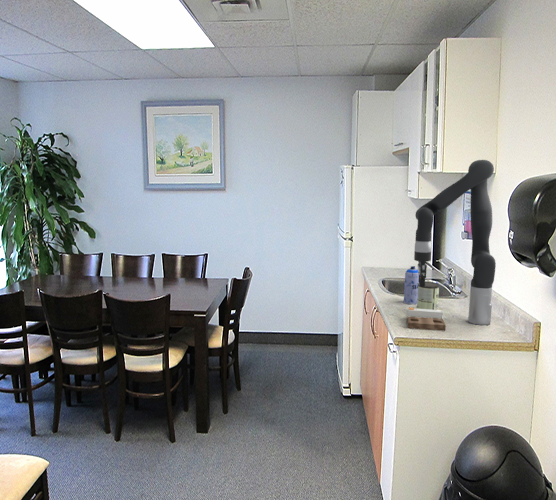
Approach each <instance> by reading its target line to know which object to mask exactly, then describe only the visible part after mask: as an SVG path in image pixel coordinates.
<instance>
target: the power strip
mask: <svg viewBox="0 0 556 500" xmlns="http://www.w3.org/2000/svg"><path fill="white" fill-rule="evenodd" d="M405 313H406V317H407V316H408V317H423V318H437V319H443V313H444V312H443V310H442V309H438V310H431V309H417V307H416V308H415V307H406V312H405Z"/></svg>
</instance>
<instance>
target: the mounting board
mask: <svg viewBox="0 0 556 500" xmlns="http://www.w3.org/2000/svg"><path fill="white" fill-rule="evenodd" d="M406 324H408V325H407V329H414V328H415V330H418V329H419V330H429V331H430V330H431V331H443V332H445V331H446V328H447V326H446V323H445V320H444V319H443V318H442V319H439V318H438V319H437V318H425V317H410V316H407V315H406Z"/></svg>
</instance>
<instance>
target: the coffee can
mask: <svg viewBox="0 0 556 500" xmlns="http://www.w3.org/2000/svg"><path fill="white" fill-rule="evenodd" d="M439 292H440V284H439V283H437V282H432V281H431V282H430V281H425V286H424V287H421V286H420V283H418V298H417V304H416V309H431V310H439V309H438V307H439Z"/></svg>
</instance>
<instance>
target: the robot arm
mask: <svg viewBox="0 0 556 500" xmlns="http://www.w3.org/2000/svg"><path fill="white" fill-rule="evenodd" d="M494 169H495V168H494V164H493V163H492V162H491V161H490V160H488V159H478V160H474V161H473V162H471V163H470V164H469V166H468V172H467V173H466V174H465V175H463V176H462V177H461V178H460V179H459V180H457V181H456V182H454V183H452V184H451V185H449V186H448V187H446V188H444V190H442V191H441V192H439V193H438V194H437V195H436V196H434V197H433V198H432V199H431V200H429V201H428V202H426V203H425V204H423V205H422V206H420V207H419V208H418V209H417V210H416V212H415V219H416V220H417V229H416V230H415V240H414V241H415V243H414V254H413V255H414V257H413V258H414V259H413V260H414V261H416V262H418V263H417V270H418V274H419V280H418V282H419V283H420V286H421V287H424V286H425V282H426V279H427V273H428V272H427V269H428V265H427V264H426V262H431V261H432V230H433V225H434V216H435V215H436V214H438V213H440V212H442V211H444V210H445V209H447V208H448V207H449V206H451V205H452V204H453V203H454V202H455V201H456V200H458V199H459V198H460V197H462V196H463V195H464V194H465V193H467V192H468V191H470V231H471V239H472V242H471V245H472V246H471V254H470V255H471V257H470V263H471V266H472V268H473V275H472V279H471V281H470V290H469V303H468V314H467V315H468V317H467V322H469V323H470V324H473V325H479V326H486V325H487V326H488V325H491V321H492V307H493V305H492V294H493V293H492V292H493V284H494V281H495V276H496V265H497V264H496V259H495V258H494V256H493V255H491V252H490V236H491V232H492V228H493V206H492V203H491V200H490V196H489V192H488V179H490V178H491V177H492V175H493V174H494V171H495V170H494Z"/></svg>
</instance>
